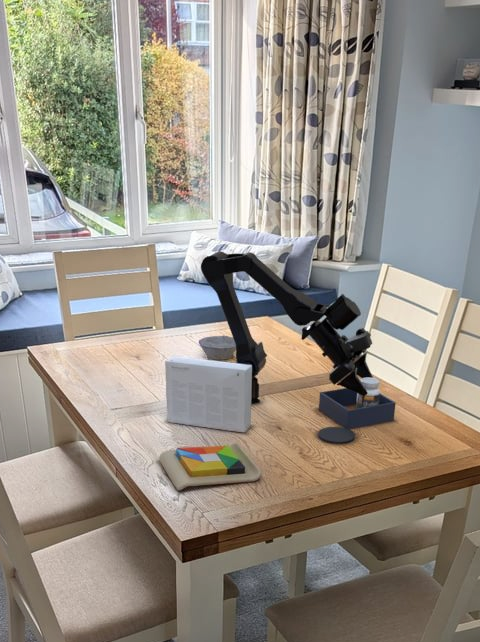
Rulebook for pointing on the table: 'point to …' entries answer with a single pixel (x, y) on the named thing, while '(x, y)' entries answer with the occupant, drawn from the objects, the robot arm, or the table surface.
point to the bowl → (218, 347)
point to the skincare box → (209, 393)
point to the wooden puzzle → (208, 465)
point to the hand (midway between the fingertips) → (369, 388)
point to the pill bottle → (369, 393)
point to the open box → (349, 419)
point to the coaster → (336, 435)
